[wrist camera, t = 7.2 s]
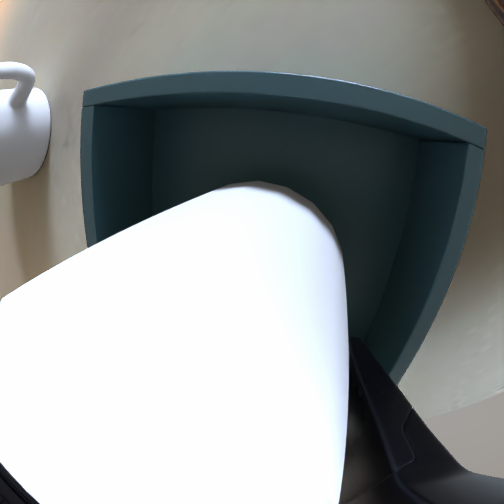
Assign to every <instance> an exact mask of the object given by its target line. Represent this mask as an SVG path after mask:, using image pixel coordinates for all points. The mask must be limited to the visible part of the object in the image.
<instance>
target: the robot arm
mask: <svg viewBox="0 0 504 504" xmlns="http://www.w3.org/2000/svg"><path fill="white" fill-rule="evenodd" d="M348 347H349V390H348V417H347V434H346V447H345V458H344V467H343V476H342V483H341V491H340V497H339V504H504V479H503V478H497V477H492V476H486V475H482V474H477V473H473V472H471V471H468V470H467V469H465V468H464V467H462V466H461V465H460V464H459V463H458V462H457V461H456V460H455V459H454V457H453V456H452V455H451V454H450V453H449V452H448V450H447V449H446V448H445V447H444V446H443V445H442V444H441V442H440V441H439V440H438V439H437V438H436V437H435V436H434V434H433V433H432V432H431V431H430V430H429V429H428V427H427V426H426V425H425V423H424V422H423V421H422V419H421V418H420V417H419V415H418V414H417V413H416V411H415V410H414V409H413V408H412V406H411V404H410V403H409V402H408V400H407V399H406V398H405V396H404V395H403V393H402V392H401V391H400V389H399V388H398V387H397V385H396V384H395V383H394V381H393V380H392V379H391V377H390V376H389V375H388V373H387V372H386V371H385V369H384V368H383V367H382V365H381V364H380V363H379V362H378V360H377V359H376V358H375V356H374V355H373V354H372V352H371V351H370V350H369V348H368V347H367V346H366V345H365V343H364V342H363V341H362V339H361V338H360V337H355V336H348ZM0 504H40V503H39V502H38V501H37V500H36V499H35V498H34V497H33V496H31V495H30V494H29V493H28V492H27V491H26V490H25V489H24V488H23V487H22V486H21V484H20V483H19V482H18V481H17V480H16V479H15V478H14V477H13V476H12V475H11V474H10V473H9V471H8V470H7V469H6V468H5V467H4V466H3V464H2V463H1V462H0Z"/></svg>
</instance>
